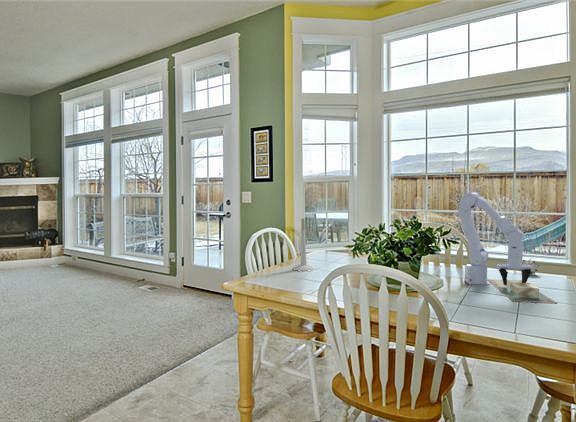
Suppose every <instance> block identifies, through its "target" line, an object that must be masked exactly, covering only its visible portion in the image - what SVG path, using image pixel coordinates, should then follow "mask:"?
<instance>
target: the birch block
mask: <svg viewBox="0 0 576 422" xmlns="http://www.w3.org/2000/svg"><path fill="white" fill-rule="evenodd" d="M510 292H512V293H513V294H514V295H516V296H517V297H532V298H539V292H540V288H539V287H537V286H536V285H534V284H533V283H531V282H526V283H510Z"/></svg>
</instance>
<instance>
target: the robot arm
mask: <svg viewBox="0 0 576 422" xmlns="http://www.w3.org/2000/svg"><path fill="white" fill-rule="evenodd" d="M459 200H460V202H459V206H458V209H457V212H458V213H457V214H458V216H459V219H460V223H461V225H462V227H463V228H462V229H463V230H464V234H465V237H466V240H467V244H468V246H469V249H468V252H469V261H470V264H468V263H467V264H465V266H464V281H465V282H466V283H467V284H469V285H484V286H486V285H488V286H489V285H491V283H489V282H488V281H487V279H488V263H487V261H488V260H489V257H490V256H489V254H488V251H486V249H485V248H484V246H483V244H481V240H480V238H479V234H478V231H477V228H476V225H475V223H474V220H473V216H472V214H471V213H472V211H473V209H474V208H478V209H482V210H483V211H484V212H485V213H486V214H487V215H488V216H489V217H490V218H491V219H493V220H494V226H495V227H496V228H497V229H498V230H500V232H502V233H503V234H504V236H506V239H507V241H508V245H507V264H506V263H503V264H496V269H497V270H498V272H499V274H500V276H501V278H502V279H501V280H503V284H504V285H507V280H508V273H509V272H508V270H512V271H513V270H514V271H515V270H516V271H517V270H518V271H521V272H520V273H521V281H522V283H528V282H527V281H528V279H529V278H530V276H531V275H532V274H531V273H532V271H533V268H534V267H533V266H531V265H522V263H523V260H524V259H523V254H524V246H523V245H524V239H525V233H524V232H523V230H522V229H520V228H519V227H518V226H516V225H514V223H513V222H511V218H510V217H507V216H505V215H503V216H502V215H500V214H499V212H498V211H497V210H496V209H495V208H494V207H493V205H492V204H490V203H489V202H488V201H487V199H486V198H485V197H483V196H481V194H479V193H478V192H476V191H473V192H465V193H464V194H463V195H462V197H461V198H460V199H459Z"/></svg>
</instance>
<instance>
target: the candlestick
mask: <svg viewBox="0 0 576 422" xmlns="http://www.w3.org/2000/svg"><path fill="white" fill-rule="evenodd" d="M300 221H301V227H300V228H301V229H300V230H299V231H300V234H301V246H300V247H301V248H300V250H301V251H300V263H299V264H297V265H295V266H293V267H292V270H293V269H295V270H300V271H307V272H309V271H308V270H313V269H316V267H315V266H313V265H312V264H309V263H308V262H307V249H306V248H307V245H306V236H305V235H306V231H307V230H306V223H305V222H306V219H305V218H301V220H300ZM295 270H294V271H295ZM300 271H299V272H300ZM313 271H314V270H313Z"/></svg>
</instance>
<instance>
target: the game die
mask: <svg viewBox="0 0 576 422" xmlns="http://www.w3.org/2000/svg"><path fill="white" fill-rule="evenodd" d="M522 265H531V266H533V267H534V268H533V271H532V273H531V275H532V274H534V275H536V272H539V269H538V267H540V265H539V264H537V263H536V260H532V259H531V258H529V259H527V260H524V259H522Z"/></svg>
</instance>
